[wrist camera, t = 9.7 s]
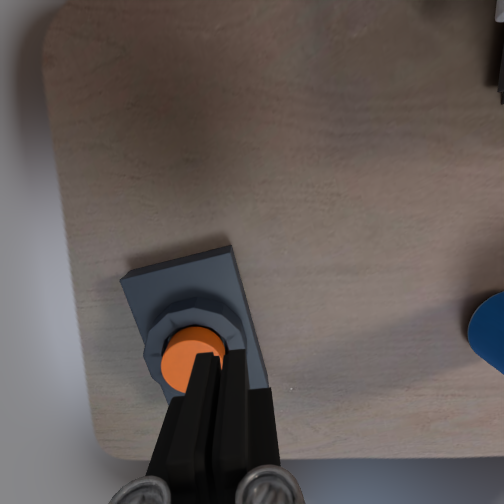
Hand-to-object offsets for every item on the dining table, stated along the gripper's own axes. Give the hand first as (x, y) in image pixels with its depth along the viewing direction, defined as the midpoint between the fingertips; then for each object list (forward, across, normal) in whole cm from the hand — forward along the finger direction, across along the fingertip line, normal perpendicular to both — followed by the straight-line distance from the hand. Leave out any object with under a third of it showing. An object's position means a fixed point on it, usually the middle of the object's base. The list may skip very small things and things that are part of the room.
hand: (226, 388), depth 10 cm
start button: (+9, +3, +5) cm, 11 cm away
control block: (+13, +3, +4) cm, 14 cm away
